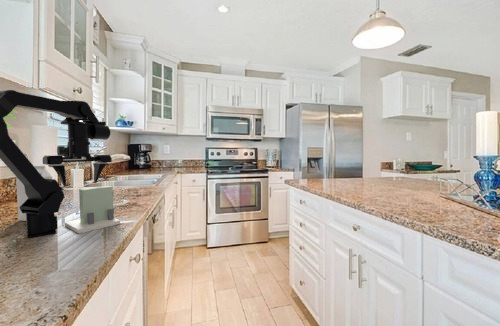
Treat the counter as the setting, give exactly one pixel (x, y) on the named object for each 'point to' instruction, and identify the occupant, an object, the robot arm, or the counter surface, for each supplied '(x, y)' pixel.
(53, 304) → the counter surface
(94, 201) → the grey upright panel
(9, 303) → the counter surface
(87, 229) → the cabinet base
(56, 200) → the robot arm
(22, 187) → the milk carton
